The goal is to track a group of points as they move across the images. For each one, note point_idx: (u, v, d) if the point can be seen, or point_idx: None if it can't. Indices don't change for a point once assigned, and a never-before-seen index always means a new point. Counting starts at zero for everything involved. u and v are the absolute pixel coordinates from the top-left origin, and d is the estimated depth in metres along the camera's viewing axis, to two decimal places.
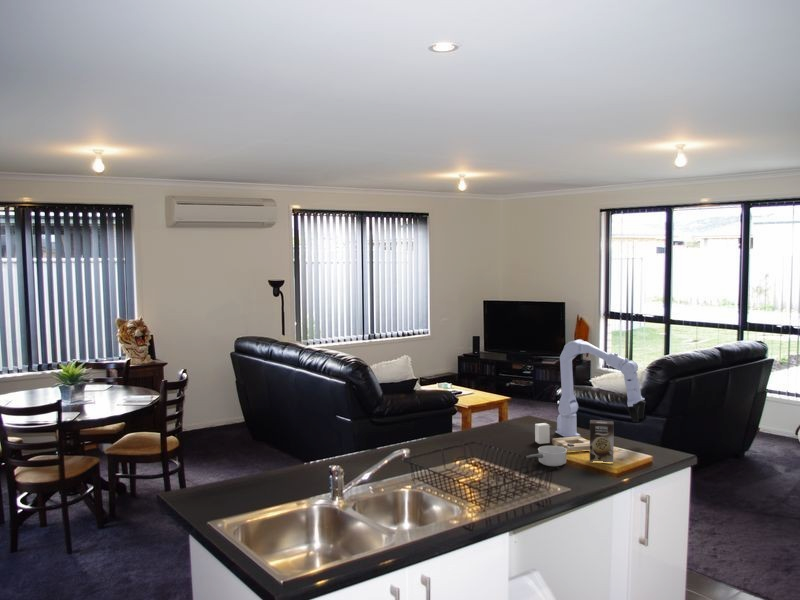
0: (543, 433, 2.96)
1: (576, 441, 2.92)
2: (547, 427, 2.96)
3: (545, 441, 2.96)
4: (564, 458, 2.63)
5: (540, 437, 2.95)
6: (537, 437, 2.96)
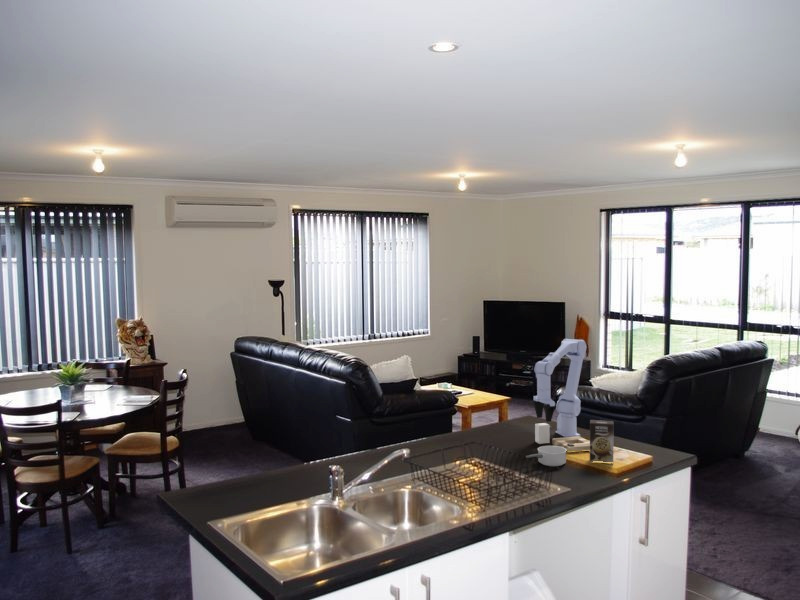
0: (543, 433, 2.96)
1: (576, 441, 2.92)
2: (547, 427, 2.96)
3: (545, 441, 2.96)
4: (564, 458, 2.63)
5: (540, 437, 2.95)
6: (537, 437, 2.96)
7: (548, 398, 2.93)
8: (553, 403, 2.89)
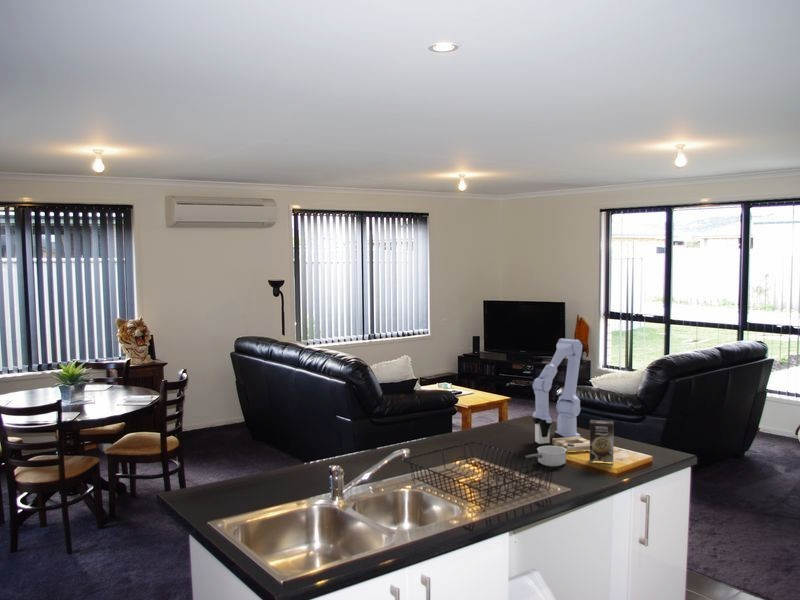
0: None
1: (576, 441, 2.92)
2: None
3: (545, 441, 2.96)
4: (563, 458, 2.63)
5: (540, 437, 2.95)
6: (537, 437, 2.96)
7: (546, 415, 2.95)
8: (550, 420, 2.90)
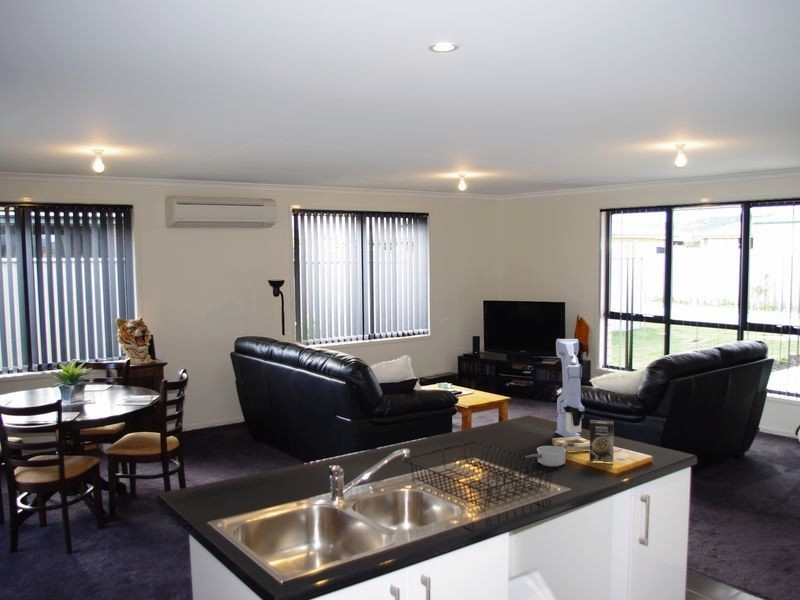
0: None
1: (576, 441, 2.92)
2: None
3: (577, 430, 2.86)
4: (563, 458, 2.63)
5: (571, 426, 2.85)
6: (569, 426, 2.86)
7: (578, 403, 2.85)
8: (582, 408, 2.80)
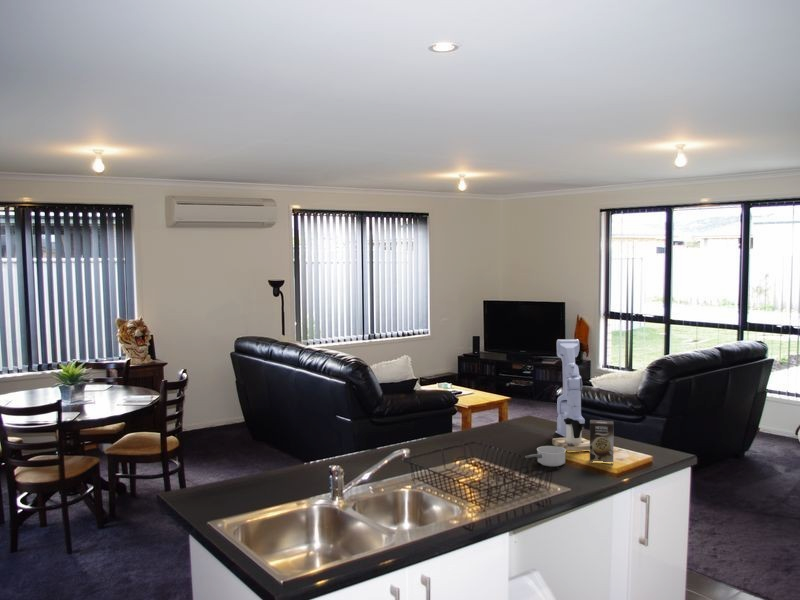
0: None
1: None
2: None
3: (577, 442, 2.86)
4: (563, 458, 2.63)
5: (572, 438, 2.86)
6: (569, 438, 2.87)
7: (578, 415, 2.85)
8: (583, 420, 2.81)
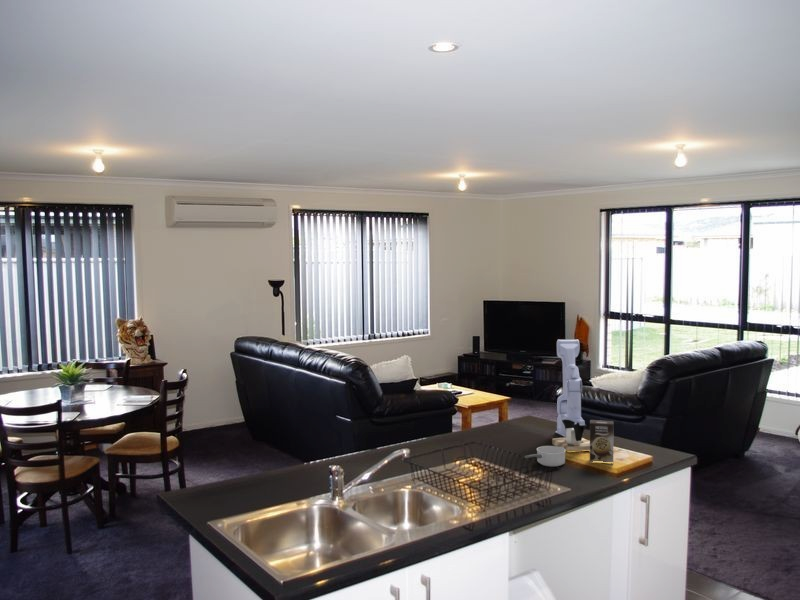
0: (575, 438, 2.86)
1: None
2: None
3: None
4: (563, 458, 2.63)
5: (572, 442, 2.86)
6: (569, 443, 2.87)
7: (578, 417, 2.85)
8: (583, 422, 2.81)
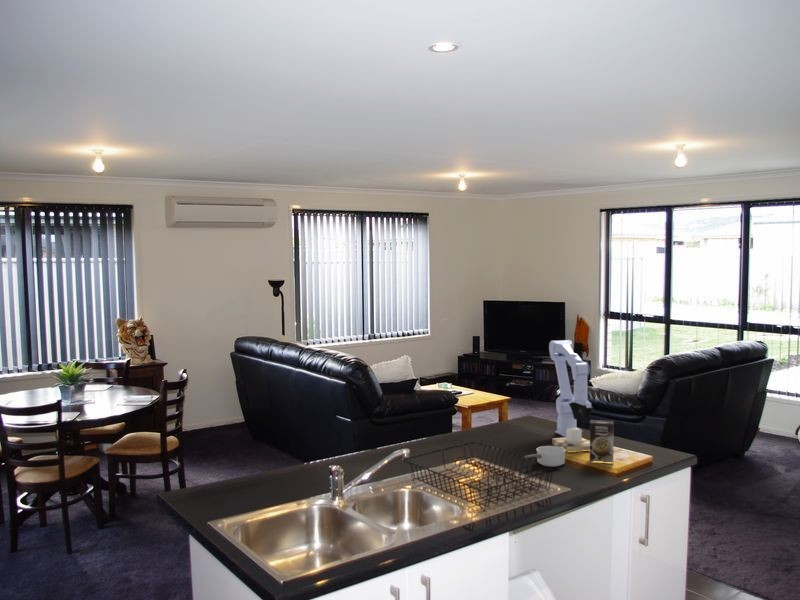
0: (575, 438, 2.86)
1: None
2: (579, 432, 2.86)
3: None
4: (563, 458, 2.63)
5: (572, 442, 2.86)
6: (569, 442, 2.87)
7: (585, 399, 2.91)
8: (589, 405, 2.87)
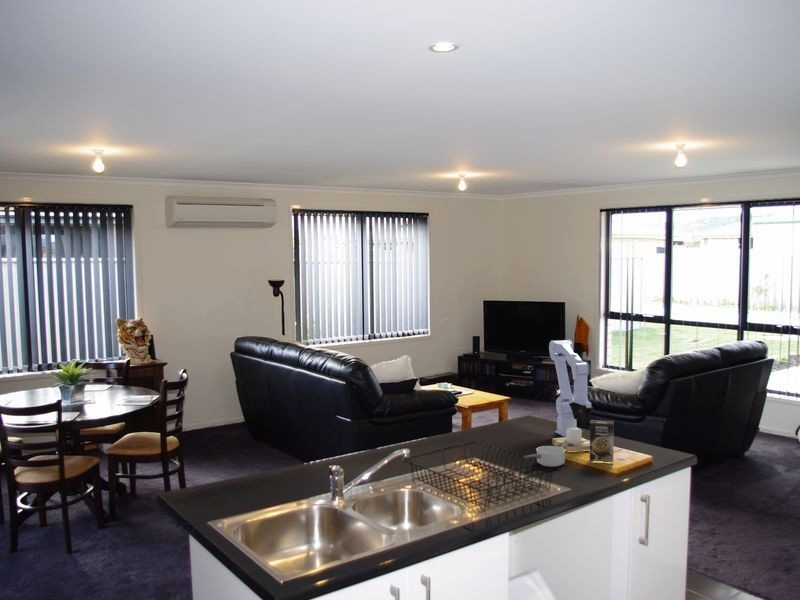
0: (575, 438, 2.86)
1: None
2: (579, 432, 2.86)
3: None
4: (562, 458, 2.63)
5: (572, 442, 2.86)
6: (569, 443, 2.87)
7: (585, 399, 2.91)
8: (589, 405, 2.87)
